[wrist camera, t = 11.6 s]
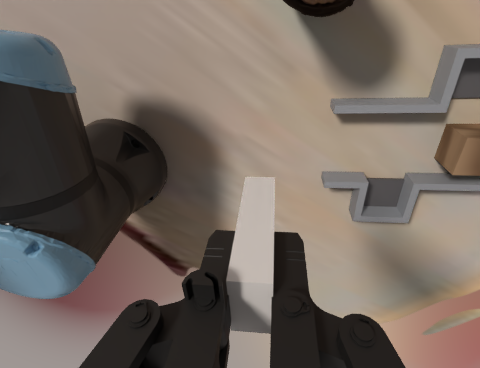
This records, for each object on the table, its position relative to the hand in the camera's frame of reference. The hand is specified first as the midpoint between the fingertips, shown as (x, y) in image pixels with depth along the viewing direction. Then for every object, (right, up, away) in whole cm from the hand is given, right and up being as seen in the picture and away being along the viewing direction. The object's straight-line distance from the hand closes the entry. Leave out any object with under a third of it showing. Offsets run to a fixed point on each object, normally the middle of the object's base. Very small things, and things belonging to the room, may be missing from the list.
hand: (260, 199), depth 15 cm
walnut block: (+29, +7, +24) cm, 38 cm away
